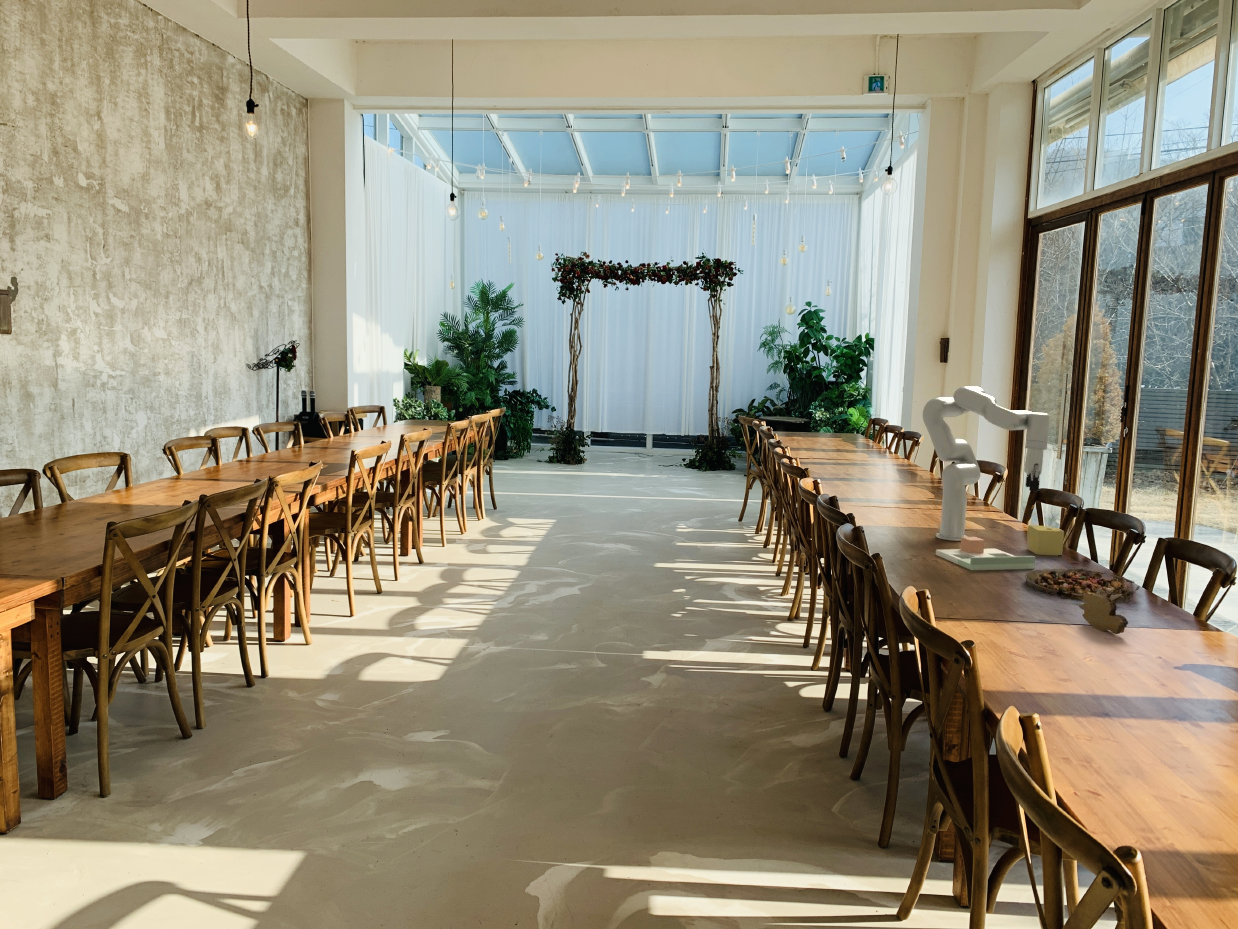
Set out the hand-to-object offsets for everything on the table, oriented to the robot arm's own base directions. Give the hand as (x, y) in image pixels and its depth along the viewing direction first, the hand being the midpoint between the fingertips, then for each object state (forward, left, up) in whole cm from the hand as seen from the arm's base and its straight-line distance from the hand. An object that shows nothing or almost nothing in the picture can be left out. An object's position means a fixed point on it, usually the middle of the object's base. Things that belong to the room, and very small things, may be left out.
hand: (1031, 489), depth 340 cm
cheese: (-2, +9, -26) cm, 28 cm away
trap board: (+9, -25, -26) cm, 37 cm away
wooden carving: (+89, -39, -26) cm, 100 cm away
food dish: (+50, -16, -26) cm, 58 cm away
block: (+2, -25, -24) cm, 34 cm away
